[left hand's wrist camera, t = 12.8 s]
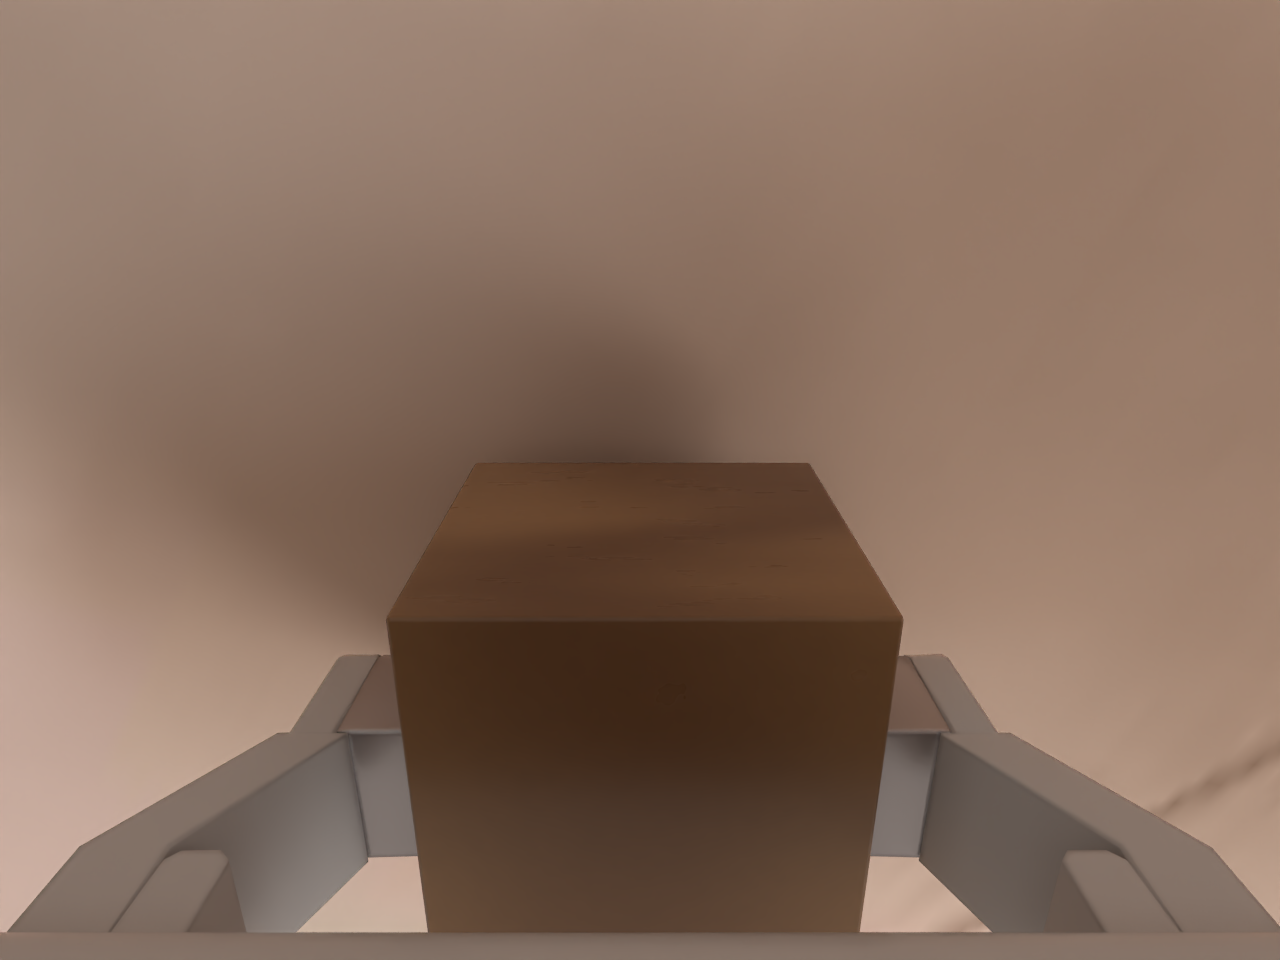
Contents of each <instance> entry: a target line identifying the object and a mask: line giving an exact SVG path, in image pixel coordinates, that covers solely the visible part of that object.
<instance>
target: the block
mask: <svg viewBox="0 0 1280 960" xmlns="http://www.w3.org/2000/svg"><path fill="white" fill-rule="evenodd" d="M386 623H387V630H388V638H389V645H390V653H391V660H392V668H393V675H394V683H395V690H396V698H397V705H398V712H399V720H400V727H401V735H402V742H403V750H404V757H405V765H406V772H407V779H408V787H409V794H410V802H411V809H412V817H413V824H414V832H415V839H416V847H417V854H418V861H419V869H420V876H421V884H422V891H423V899H424V906H425V914H426V921H427V928H428V933H658V932H860V925H861V917H862V910H863V903H864V896H865V889H866V882H867V875H868V868H869V861H870V854H871V847H872V840H873V832H874V825H875V818H876V811H877V804H878V797H879V790H880V783H881V776H882V769H883V762H884V754H885V747H886V740H887V733H888V726H889V719H890V712H891V705H892V698H893V691H894V684H895V677H896V669H897V662H898V655H899V648H900V641H901V634H902V627H903V617H902V615H901V613H900V612H899V610H898V608H897V607H896V605H895V604H894V602H893V600H892V599H891V597H890V595H889V594H888V592H887V590H886V589H885V587H884V585H883V584H882V582H881V581H880V579H879V577H878V576H877V574H876V572H875V571H874V569H873V567H872V566H871V564H870V562H869V561H868V559H867V557H866V556H865V554H864V553H863V551H862V549H861V548H860V546H859V544H858V543H857V541H856V539H855V538H854V536H853V534H852V533H851V531H850V530H849V528H848V526H847V525H846V523H845V521H844V520H843V518H842V516H841V515H840V513H839V511H838V510H837V508H836V507H835V505H834V503H833V502H832V500H831V498H830V497H829V495H828V493H827V492H826V490H825V488H824V487H823V485H822V483H821V482H820V480H819V479H818V477H817V475H816V474H815V472H814V470H813V469H812V467H811V465H810V464H808V463H477V464H475V466H474V468H473V469H472V471H471V473H470V475H469V476H468V478H467V480H466V481H465V483H464V485H463V487H462V488H461V490H460V492H459V494H458V495H457V497H456V499H455V500H454V502H453V504H452V506H451V507H450V509H449V511H448V513H447V514H446V516H445V518H444V519H443V521H442V523H441V525H440V526H439V528H438V530H437V532H436V533H435V535H434V537H433V538H432V540H431V542H430V544H429V545H428V547H427V549H426V551H425V552H424V554H423V556H422V557H421V559H420V561H419V563H418V564H417V566H416V568H415V570H414V571H413V573H412V575H411V576H410V578H409V580H408V582H407V583H406V585H405V587H404V589H403V590H402V592H401V594H400V595H399V597H398V599H397V601H396V602H395V604H394V606H393V608H392V609H391V611H390V613H389V614H388V616H387V619H386Z"/></svg>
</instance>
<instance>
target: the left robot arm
mask: <svg viewBox="0 0 1280 960" xmlns="http://www.w3.org/2000/svg"><path fill="white" fill-rule="evenodd" d="M398 856H418V854H417V847H416V839H415V832H414V824H413V817H412V809H411V802H410V794H409V787H408V779H407V772H406V765H405V757H404V750H403V742H402V735H401V727H400V720H399V712H398V705H397V698H396V690H395V683H394V675H393V668H392V660H391V655H383V656H381V655H344V656H342V657H339V658H338V659H337V660H336V662H335V663H334V665H333V666H332V668H331V670H330V671H329V673H328V674H327V676H326V677H325V679H324V680H323V682H322V684H321V685H320V687H319V688H318V690H317V691H316V693H315V694H314V696H313V698H312V699H311V701H310V702H309V704H308V705H307V707H306V708H305V710H304V712H303V713H302V715H301V716H300V718H299V719H298V721H297V722H296V724H295V725H294V727H293V729H292V730H291V732H290V733H277V734H275V735H273V736H272V737H270V738H268V739H266V740H265V741H263V742H261V743H259V744H258V745H256V746H254V747H252V748H251V749H249V750H247V751H245V752H244V753H242V754H240V755H238V756H237V757H235V758H233V759H231V760H230V761H228V762H226V763H225V764H223V765H221V766H219V767H218V768H216V769H214V770H212V771H211V772H209V773H207V774H205V775H204V776H202V777H200V778H198V779H197V780H195V781H193V782H191V783H190V784H188V785H186V786H184V787H183V788H181V789H179V790H177V791H176V792H174V793H172V794H170V795H169V796H167V797H165V798H163V799H162V800H160V801H158V802H156V803H155V804H153V805H151V806H149V807H148V808H146V809H144V810H143V811H141V812H139V813H137V814H136V815H134V816H132V817H130V818H129V819H127V820H125V821H123V822H122V823H120V824H118V825H116V826H115V827H113V828H111V829H109V830H108V831H106V832H104V833H102V834H101V835H99V836H97V837H95V838H94V839H92V840H90V841H88V842H87V843H85V844H83V845H81V846H80V847H79V848H78V849H77V850H76V851H75V852H74V854H73V855H72V856H71V857H70V858H69V859H68V861H67V862H66V863H65V864H64V865H63V866H62V868H61V869H60V870H59V871H58V872H57V874H56V875H55V876H54V877H53V878H52V879H51V881H50V882H49V883H48V884H47V885H46V886H45V888H44V889H43V890H42V891H41V892H40V894H39V895H38V896H37V897H36V898H35V899H34V901H33V902H32V903H31V904H30V905H29V906H28V908H27V909H26V910H25V911H24V912H23V914H22V915H21V916H20V917H19V918H18V919H17V921H16V922H15V923H14V924H13V925H12V926H11V928H10V929H9V930H8V931H7V932H0V960H1280V926H1279V925H1278V924H1277V923H1276V922H1275V920H1274V919H1273V918H1272V917H1271V916H1270V915H1269V913H1268V912H1267V911H1266V910H1265V909H1264V908H1263V906H1262V905H1261V904H1260V903H1259V902H1258V901H1257V899H1256V898H1255V897H1254V896H1253V895H1252V894H1251V893H1250V891H1249V890H1248V889H1247V888H1246V887H1245V886H1244V884H1243V883H1242V882H1241V881H1240V880H1239V879H1238V877H1237V876H1236V875H1235V874H1234V873H1233V872H1232V870H1231V869H1230V868H1229V867H1228V866H1227V865H1226V863H1225V862H1224V861H1223V860H1222V859H1221V858H1220V856H1219V855H1218V854H1217V853H1216V852H1215V851H1214V849H1213V848H1211V847H1210V846H1208V845H1206V844H1204V843H1203V842H1201V841H1199V840H1197V839H1196V838H1194V837H1192V836H1190V835H1188V834H1187V833H1185V832H1183V831H1181V830H1180V829H1178V828H1176V827H1174V826H1173V825H1171V824H1169V823H1167V822H1166V821H1164V820H1162V819H1160V818H1159V817H1157V816H1155V815H1153V814H1152V813H1150V812H1148V811H1146V810H1145V809H1143V808H1141V807H1139V806H1138V805H1136V804H1134V803H1132V802H1131V801H1129V800H1127V799H1125V798H1124V797H1122V796H1120V795H1118V794H1117V793H1115V792H1113V791H1111V790H1110V789H1108V788H1106V787H1104V786H1102V785H1101V784H1099V783H1097V782H1095V781H1094V780H1092V779H1090V778H1088V777H1087V776H1085V775H1083V774H1081V773H1080V772H1078V771H1076V770H1074V769H1073V768H1071V767H1069V766H1067V765H1066V764H1064V763H1062V762H1060V761H1059V760H1057V759H1055V758H1053V757H1052V756H1050V755H1048V754H1046V753H1045V752H1043V751H1041V750H1039V749H1038V748H1036V747H1034V746H1032V745H1031V744H1029V743H1027V742H1025V741H1023V740H1022V739H1020V738H1018V737H1016V736H1015V735H1013V734H1011V733H998V732H997V730H996V729H995V727H994V726H993V724H992V723H991V721H990V720H989V718H988V717H987V715H986V714H985V712H984V711H983V709H982V708H981V706H980V705H979V703H978V702H977V700H976V699H975V697H974V696H973V694H972V693H971V691H970V690H969V688H968V687H967V685H966V684H965V682H964V681H963V679H962V678H961V676H960V675H959V673H958V672H957V670H956V669H955V667H954V666H953V664H952V663H951V661H950V660H949V658H948V657H946V656H944V655H942V654H932V655H904V656H898V662H897V669H896V677H895V684H894V691H893V698H892V705H891V712H890V719H889V726H888V733H887V740H886V747H885V754H884V762H883V769H882V776H881V783H880V790H879V797H878V804H877V811H876V818H875V825H874V832H873V840H872V847H871V854H870V856H889V857H919V861H920V862H921V863H922V864H923V865H924V866H925V867H926V868H927V869H928V870H929V871H930V872H931V873H932V874H933V875H934V876H935V877H936V878H937V879H938V880H939V881H940V882H941V883H942V884H943V885H944V886H946V887H947V888H948V889H949V890H950V891H951V892H952V893H953V894H954V895H955V896H956V897H957V898H958V899H959V900H960V901H961V902H962V903H963V904H964V905H965V906H966V907H967V908H968V909H969V910H970V911H971V912H972V913H973V914H974V915H975V916H976V917H977V918H978V919H979V920H980V921H981V922H983V923H984V924H985V925H986V926H987V927H988V928H989V929H990V930H991V931H992V932H993V933H992V932H658V933H296V932H297V931H298V930H299V929H300V928H301V927H302V926H303V925H304V924H305V923H306V922H307V921H308V920H309V919H310V918H311V917H312V916H313V915H314V914H315V913H316V912H317V911H318V910H319V909H320V908H321V907H322V906H323V905H324V904H325V903H326V902H327V901H328V900H329V899H330V898H331V897H332V896H333V895H334V894H335V893H336V892H337V891H339V890H340V889H341V888H342V887H343V886H344V885H345V884H346V883H347V882H348V881H349V880H350V879H351V878H352V877H353V876H354V875H355V874H356V873H357V872H358V871H359V870H360V869H361V868H362V867H363V866H364V865H365V864H366V863H367V862H368V857H398Z"/></svg>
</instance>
